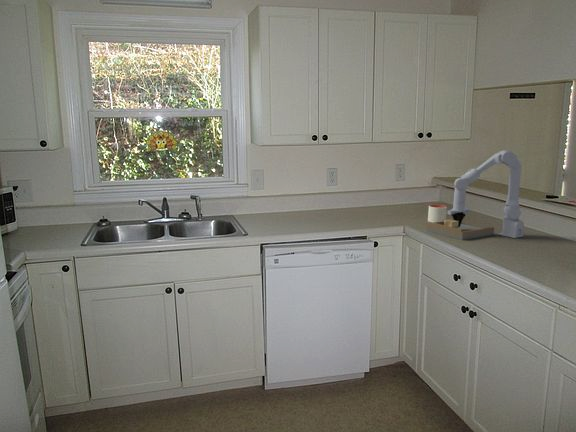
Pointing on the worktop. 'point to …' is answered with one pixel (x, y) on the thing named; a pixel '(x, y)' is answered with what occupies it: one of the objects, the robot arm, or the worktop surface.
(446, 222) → the block
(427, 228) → the trap board
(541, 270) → the worktop surface
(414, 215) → the worktop surface
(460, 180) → the robot arm
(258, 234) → the worktop surface
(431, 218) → the cup
